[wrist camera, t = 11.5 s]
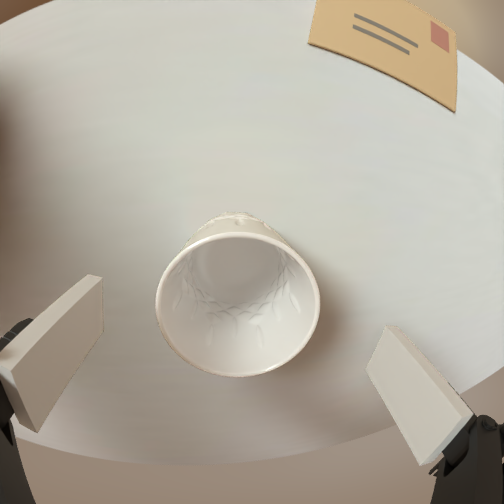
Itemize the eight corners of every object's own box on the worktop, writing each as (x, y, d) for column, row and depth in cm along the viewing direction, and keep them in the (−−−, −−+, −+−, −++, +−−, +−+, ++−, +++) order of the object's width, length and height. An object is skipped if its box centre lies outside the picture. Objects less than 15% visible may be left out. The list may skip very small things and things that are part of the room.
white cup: (267, 307, 24) (288, 386, 15) (177, 285, 23) (147, 359, 13) (296, 219, 22) (344, 257, 13) (198, 192, 21) (171, 211, 11)
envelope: (307, 43, 18) (308, 41, 18) (323, -34, 15) (324, -35, 15) (453, 111, 20) (455, 111, 20) (453, 33, 17) (455, 32, 17)
